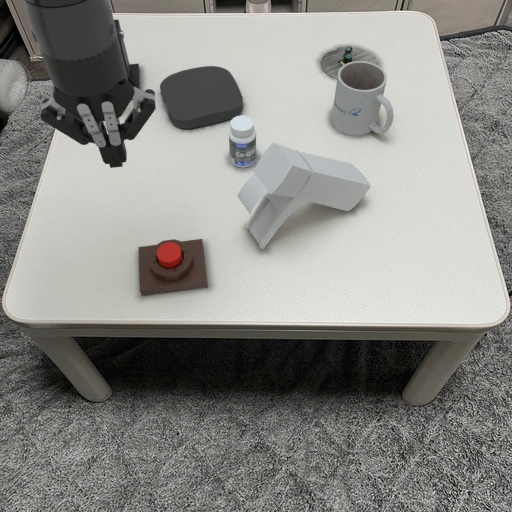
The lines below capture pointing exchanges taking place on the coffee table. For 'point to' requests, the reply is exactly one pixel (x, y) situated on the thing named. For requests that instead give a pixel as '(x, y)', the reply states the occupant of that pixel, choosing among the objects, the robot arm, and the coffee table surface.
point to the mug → (360, 99)
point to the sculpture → (344, 59)
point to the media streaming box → (201, 96)
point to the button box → (172, 269)
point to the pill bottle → (242, 141)
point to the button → (169, 255)
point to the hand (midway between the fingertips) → (116, 162)
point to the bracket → (131, 69)
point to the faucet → (296, 188)
